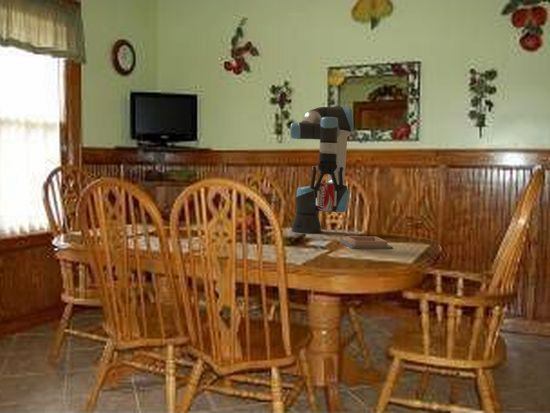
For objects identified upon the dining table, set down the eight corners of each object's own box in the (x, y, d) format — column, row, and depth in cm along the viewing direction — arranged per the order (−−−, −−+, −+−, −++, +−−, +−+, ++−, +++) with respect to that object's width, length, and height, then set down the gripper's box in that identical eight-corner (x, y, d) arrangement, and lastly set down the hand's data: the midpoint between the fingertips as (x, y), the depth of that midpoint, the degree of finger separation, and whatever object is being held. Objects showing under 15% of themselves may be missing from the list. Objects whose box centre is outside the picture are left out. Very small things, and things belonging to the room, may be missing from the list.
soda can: (334, 211, 250) (335, 183, 249) (317, 210, 250) (318, 183, 249) (333, 209, 257) (334, 182, 256) (317, 209, 257) (318, 182, 256)
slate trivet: (340, 242, 262) (340, 235, 261) (377, 242, 265) (378, 236, 265) (352, 248, 244) (352, 241, 244) (392, 249, 247) (393, 242, 247)
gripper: (307, 152, 246) (305, 205, 248) (352, 153, 249) (350, 206, 251) (303, 152, 253) (301, 204, 255) (347, 153, 257) (345, 205, 259)
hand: (325, 205), depth 253 cm, fingers closed on soda can, 7 cm apart
